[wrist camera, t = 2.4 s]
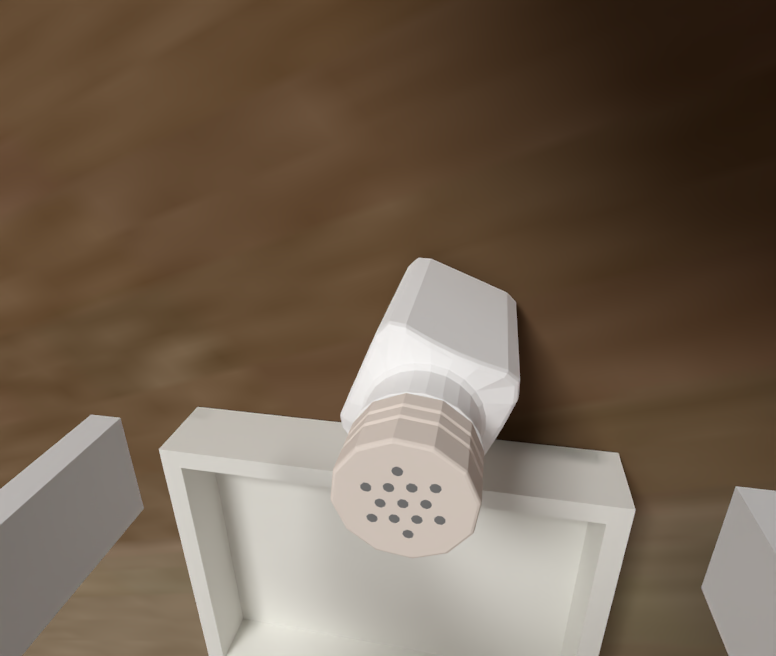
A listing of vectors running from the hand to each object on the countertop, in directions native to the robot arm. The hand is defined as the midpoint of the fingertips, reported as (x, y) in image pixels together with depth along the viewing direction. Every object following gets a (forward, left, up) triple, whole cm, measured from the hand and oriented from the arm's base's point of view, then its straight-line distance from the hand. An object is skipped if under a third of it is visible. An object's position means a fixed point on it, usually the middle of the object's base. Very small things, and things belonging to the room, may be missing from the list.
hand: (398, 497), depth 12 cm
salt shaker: (0, 0, -9) cm, 9 cm away
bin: (+12, -2, -9) cm, 15 cm away
